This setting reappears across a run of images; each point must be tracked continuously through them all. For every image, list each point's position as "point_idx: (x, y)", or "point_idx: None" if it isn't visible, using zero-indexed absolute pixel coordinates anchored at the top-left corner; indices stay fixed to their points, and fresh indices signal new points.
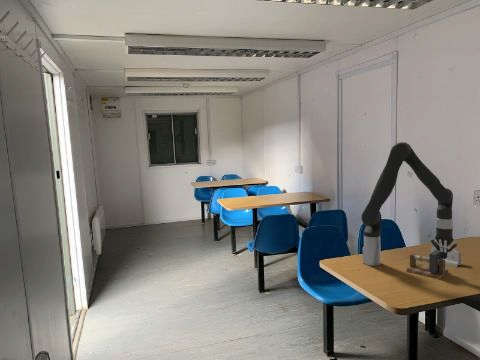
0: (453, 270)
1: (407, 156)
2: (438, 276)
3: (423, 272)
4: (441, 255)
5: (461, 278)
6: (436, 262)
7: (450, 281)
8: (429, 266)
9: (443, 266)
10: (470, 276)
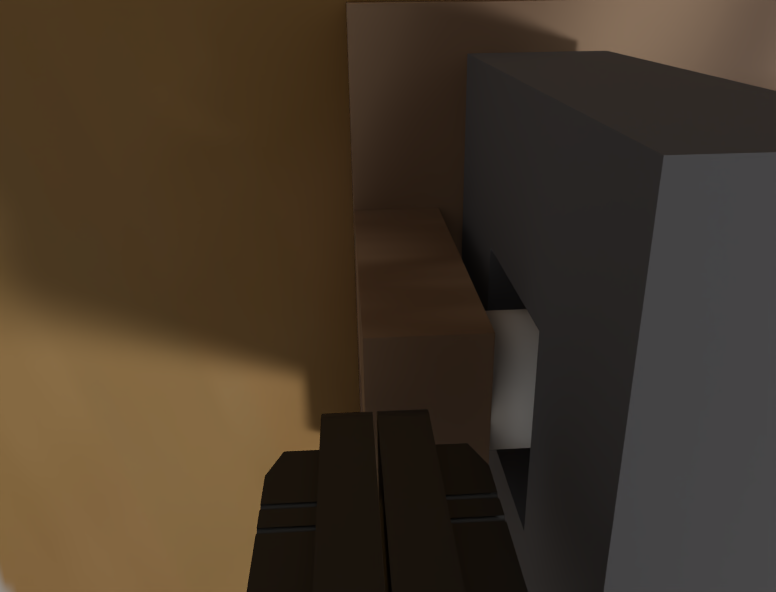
0: None
1: None
2: (381, 2)
3: (723, 1)
4: (462, 499)
5: (73, 315)
6: (528, 183)
7: (135, 12)
8: (668, 65)
9: (358, 289)
10: (22, 492)
